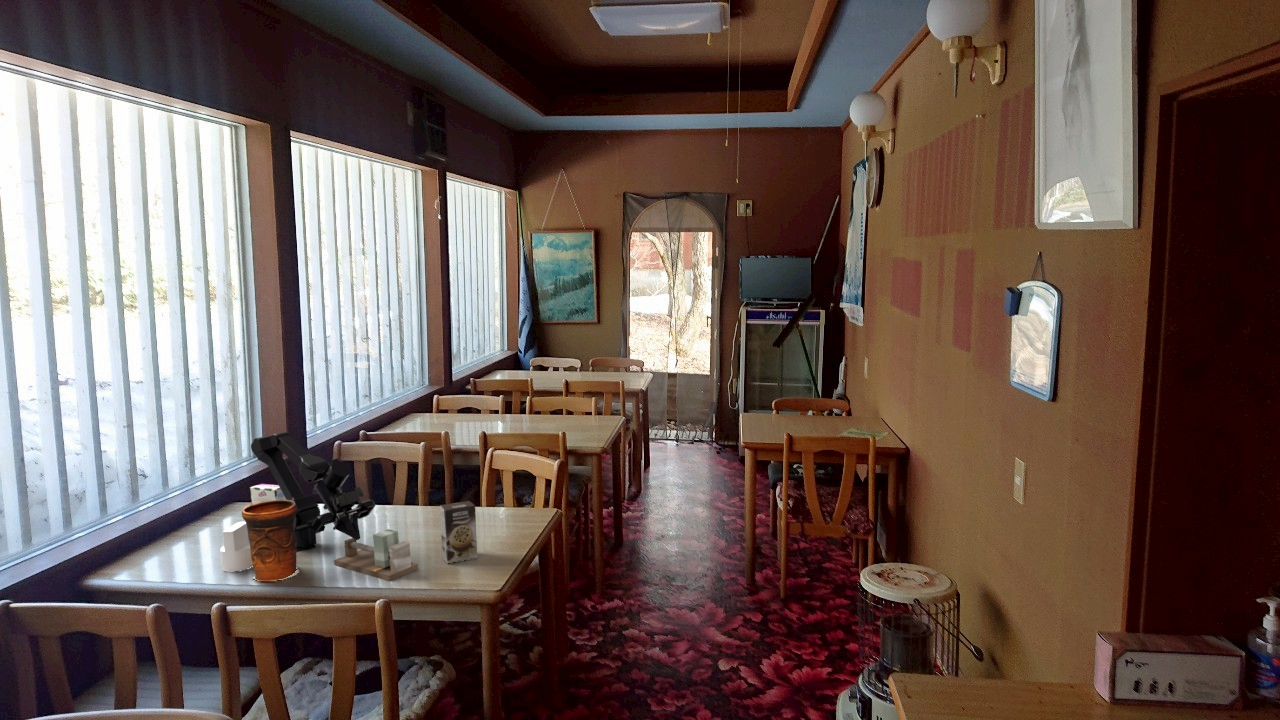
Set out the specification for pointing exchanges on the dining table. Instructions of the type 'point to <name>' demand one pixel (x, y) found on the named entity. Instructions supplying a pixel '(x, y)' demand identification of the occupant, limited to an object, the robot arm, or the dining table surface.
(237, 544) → the base with upright slab
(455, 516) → the coffee box
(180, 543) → the dining table surface
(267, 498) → the candy bar box
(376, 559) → the sleeve
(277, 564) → the vessel
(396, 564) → the rod stand
